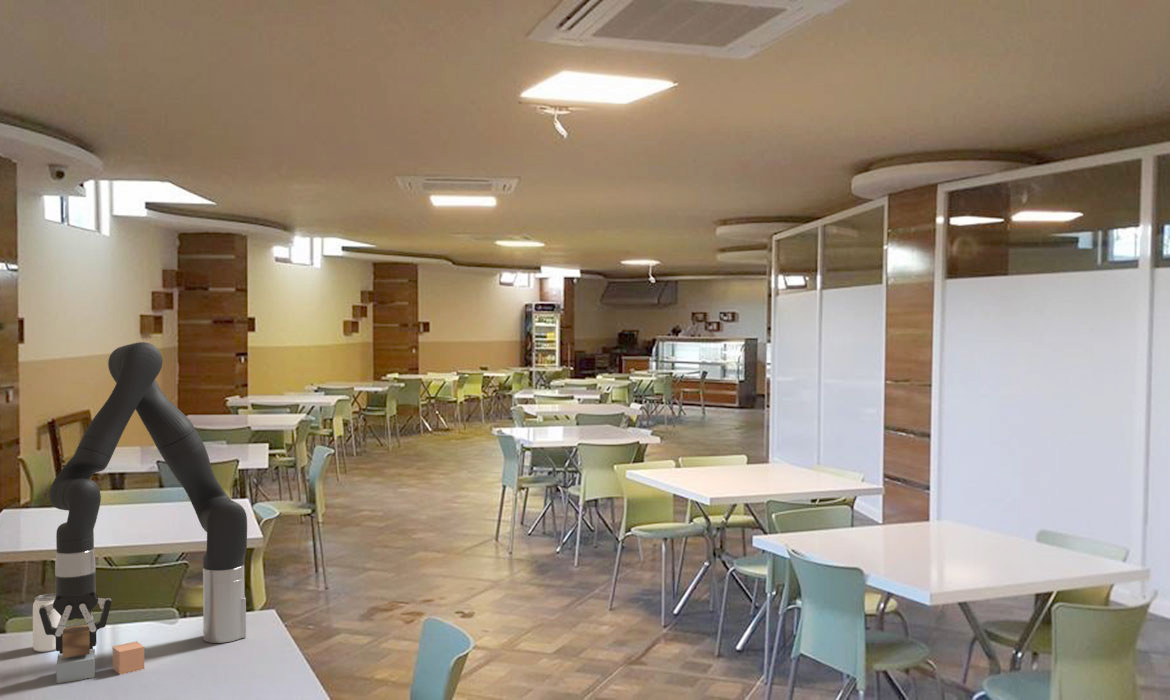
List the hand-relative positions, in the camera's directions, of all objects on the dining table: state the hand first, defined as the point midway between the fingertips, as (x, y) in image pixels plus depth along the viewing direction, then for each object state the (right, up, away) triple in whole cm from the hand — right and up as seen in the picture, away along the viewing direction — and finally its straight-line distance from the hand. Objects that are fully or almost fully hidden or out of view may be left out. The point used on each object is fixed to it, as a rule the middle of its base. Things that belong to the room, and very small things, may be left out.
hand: (76, 650), depth 199 cm
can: (-16, -5, +18) cm, 24 cm away
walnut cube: (0, 0, 0) cm, 0 cm away
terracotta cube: (+9, -5, +4) cm, 11 cm away
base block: (0, -5, 0) cm, 5 cm away
